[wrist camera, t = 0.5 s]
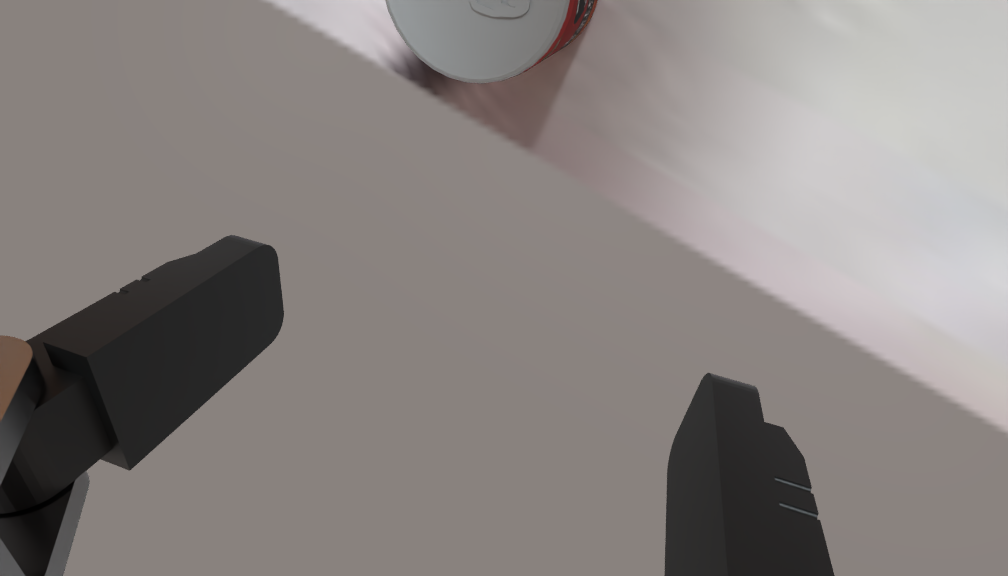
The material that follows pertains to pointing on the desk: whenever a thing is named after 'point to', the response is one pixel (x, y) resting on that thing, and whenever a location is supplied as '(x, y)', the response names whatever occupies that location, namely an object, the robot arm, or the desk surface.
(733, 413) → the robot arm
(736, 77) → the desk surface
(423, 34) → the canned food
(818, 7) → the desk surface
